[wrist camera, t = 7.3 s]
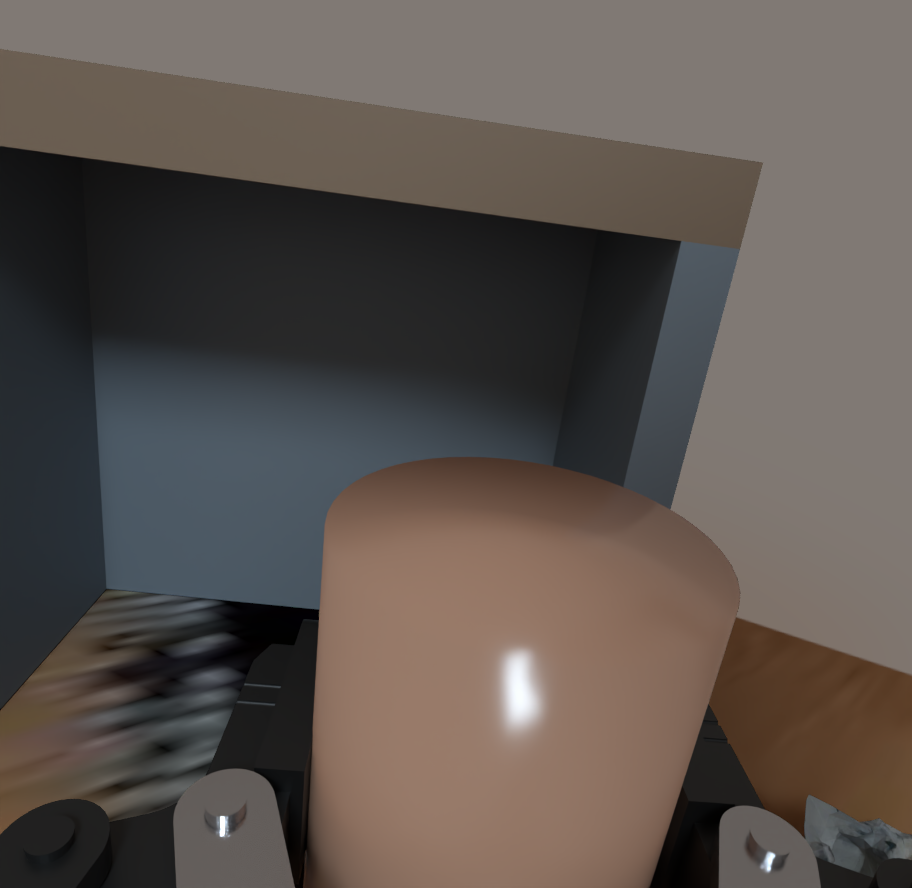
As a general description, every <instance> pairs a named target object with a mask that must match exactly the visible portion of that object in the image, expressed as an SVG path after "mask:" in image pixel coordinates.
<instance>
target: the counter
mask: <svg viewBox="0 0 912 888" xmlns="http://www.w3.org/2000/svg"><path fill="white" fill-rule="evenodd" d="M762 165H763V163H762V162H755V161H748V160H741V159H735V158H727V157H721V156H715V155H708V154H701V153H695V152H687V151H681V150H675V149H667V148H661V147H654V146H648V145H641V144H634V143H628V142H621V141H613V140H607V139H601V138H594V137H587V136H580V135H573V134H566V133H560V132H553V131H547V130H540V129H534V128H527V127H520V126H513V125H507V124H499V123H493V122H486V121H479V120H473V119H466V118H460V117H453V116H445V115H440V114H432V113H426V112H419V111H413V110H406V109H399V108H392V107H385V106H379V105H372V104H365V103H359V102H352V101H345V100H339V99H331V98H325V97H319V96H312V95H305V94H298V93H292V92H285V91H278V90H271V89H264V88H258V87H251V86H245V85H238V84H231V83H225V82H217V81H211V80H204V79H198V78H190V77H184V76H178V75H171V74H164V73H157V72H151V71H144V70H136V69H131V68H124V67H116V66H110V65H104V64H97V63H90V62H83V61H76V60H70V59H63V58H56V57H50V56H43V55H37V54H30V53H22V52H16V51H9V50H3V49H0V709H1V708H2V707H3V706H4V704H5V703H6V702H7V701H8V700H9V699H10V698H11V697H12V695H13V694H14V693H15V692H16V691H17V690H18V689H19V687H20V686H21V685H22V684H23V683H24V682H25V681H26V679H27V678H28V677H29V676H30V675H31V674H32V673H33V672H34V670H35V669H36V668H37V667H38V666H39V665H40V664H41V662H42V661H43V660H44V659H45V658H46V657H47V656H48V655H49V653H50V652H51V651H52V650H53V649H54V648H55V647H56V645H57V644H58V643H59V642H60V641H61V640H62V639H63V637H64V636H65V635H66V634H67V633H68V632H69V631H70V630H71V628H72V627H73V626H74V625H75V624H76V623H77V622H78V620H79V619H80V618H81V617H82V616H83V615H84V614H85V613H86V611H87V610H88V609H89V608H90V607H91V606H92V605H93V603H94V602H95V601H96V600H97V599H98V598H99V597H100V596H101V594H102V593H103V592H104V591H105V590H106V589H115V590H126V591H136V592H146V593H156V594H166V595H177V596H187V597H197V598H207V599H217V600H228V601H238V602H248V603H258V604H269V605H279V606H289V607H299V608H309V609H320V594H321V578H322V561H323V544H324V527H325V521H326V516H327V512H328V510H329V508H330V507H331V505H332V503H333V501H334V500H335V499H336V498H337V496H338V495H339V494H340V493H341V492H342V491H343V490H344V489H346V488H347V487H348V486H350V485H351V484H352V483H353V482H355V481H357V480H359V479H361V478H362V477H364V476H366V475H368V474H371V473H373V472H376V471H378V470H381V469H384V468H387V467H390V466H394V465H397V464H402V463H407V462H412V461H418V460H425V459H432V458H446V457H489V458H501V459H512V460H519V461H527V462H533V463H539V464H544V465H550V466H554V467H559V468H563V469H568V470H572V471H575V472H579V473H583V474H586V475H590V476H593V477H596V478H599V479H602V480H605V481H608V482H611V483H614V484H616V485H619V486H622V487H624V488H627V489H629V490H632V491H634V492H636V493H638V494H641V495H643V496H645V497H647V498H649V499H651V500H653V501H655V502H657V503H659V504H661V505H663V506H665V507H667V508H668V509H671V505H672V501H673V497H674V494H675V490H676V487H677V483H678V479H679V475H680V471H681V467H682V464H683V460H684V457H685V453H686V449H687V445H688V442H689V438H690V434H691V430H692V426H693V423H694V419H695V415H696V412H697V408H698V404H699V400H700V397H701V393H702V389H703V385H704V382H705V378H706V374H707V370H708V367H709V362H710V359H711V355H712V352H713V348H714V344H715V340H716V337H717V333H718V329H719V325H720V322H721V318H722V314H723V310H724V307H725V303H726V299H727V296H728V292H729V288H730V284H731V281H732V277H733V273H734V269H735V266H736V262H737V258H738V254H739V250H740V247H741V243H742V239H743V235H744V232H745V228H746V224H747V220H748V217H749V213H750V209H751V206H752V202H753V198H754V195H755V191H756V187H757V183H758V179H759V175H760V172H761V168H762Z"/></svg>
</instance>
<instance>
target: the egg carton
mask: <svg viewBox="0 0 912 888" xmlns="http://www.w3.org/2000/svg"><path fill="white" fill-rule="evenodd" d="M804 830H805V840H806V841H807V843H808V844H809V846H810V847H811V849H812V851H813V853H814V855H815V856H816V857H818V858H820V859H823V860H825V861H828V862H830V863H833V864H836V865H839V866H842V867H844V868H847V869H850V870H853V871H856V872H859V873H861V874H864V875H867V876H870V877H874V875H875V873H876V871H877V869H878V867H879V865H880V864H881V863H882V862H883V861H885V860H887V859H891V858H903V859H909V860H912V835H910V834H905V833H902V832H900V831H898V830H896V829H895V828H893V827H891V826H889V825H887V824H886V823H884V822H883V821H882V820H881V819H879V818H878V819H875V820H872V821H865V822H858V821H856V820H855V819H853V818H851V817H850V816H848V815H846V814H844V813H843V812H841V811H839V810H838V809H836V808H834V807H833V806H831V805H829V804H827V803H825V802H823V801H821V800H819V799H817V798H815V797H813V796H811V795H809V796H808V798H807V800H806V812H805V824H804Z"/></svg>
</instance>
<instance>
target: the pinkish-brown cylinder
mask: <svg viewBox="0 0 912 888" xmlns="http://www.w3.org/2000/svg"><path fill="white" fill-rule="evenodd" d="M739 602H740V589H739V584H738V579H737V577H736V575H735V572H734V570H733V568H732V565H731V564H730V562H729V561H728V560H727V558H726V557H725V555H724V554H723V553H722V551H721V550H720V549H719V548H718V547H717V546H716V545H715V544H714V543H713V542H712V540H711V539H710V538H708V537H707V536H706V535H705V534H704V533H703V532H701V531H700V530H699V529H698V528H697V527H695V526H694V525H693V524H691V523H690V522H688V521H687V520H686V519H684V518H683V517H681V516H680V515H678V514H676V513H675V512H673V511H671V510H670V509H668V508H667V507H665V506H663V505H661V504H659V503H657V502H655V501H653V500H651V499H649V498H647V497H645V496H643V495H641V494H638V493H636V492H634V491H632V490H629V489H627V488H624V487H622V486H619V485H616V484H614V483H611V482H608V481H605V480H602V479H599V478H596V477H593V476H590V475H586V474H583V473H579V472H575V471H572V470H568V469H563V468H559V467H554V466H550V465H544V464H539V463H533V462H527V461H519V460H512V459H501V458H489V457H446V458H432V459H425V460H418V461H412V462H407V463H402V464H397V465H394V466H390V467H387V468H384V469H381V470H378V471H376V472H373V473H371V474H368V475H366V476H364V477H362V478H361V479H359V480H357V481H355V482H353V483H352V484H351V485H350V486H348V487H347V488H346V489H344V490H343V491H342V492H341V493H340V494H339V495H338V496H337V498H336V499H335V500H334V501H333V503H332V505H331V507H330V508H329V510H328V512H327V516H326V521H325V527H324V544H323V561H322V578H321V594H320V611H319V628H318V645H317V662H316V679H315V696H314V713H313V741H312V758H311V775H310V792H309V809H308V826H307V843H306V852H305V865H304V882H303V888H650V885H651V882H652V879H653V876H654V872H655V869H656V866H657V863H658V860H659V857H660V854H661V850H662V847H663V844H664V841H665V838H666V835H667V832H668V828H669V825H670V822H671V819H672V816H673V813H674V810H675V806H676V803H677V800H678V797H679V794H680V791H681V788H682V784H683V781H684V778H685V775H686V772H687V769H688V766H689V762H690V759H691V756H692V753H693V750H694V747H695V744H696V740H697V737H698V734H699V731H700V728H701V725H702V722H703V718H704V715H705V712H706V709H707V706H708V703H709V700H710V696H711V693H712V690H713V687H714V684H715V681H716V678H717V675H718V671H719V668H720V665H721V662H722V659H723V656H724V653H725V649H726V646H727V643H728V640H729V637H730V634H731V631H732V627H733V624H734V621H735V618H736V615H737V612H738V609H739Z"/></svg>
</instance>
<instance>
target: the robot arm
mask: <svg viewBox="0 0 912 888" xmlns="http://www.w3.org/2000/svg"><path fill="white" fill-rule="evenodd" d="M318 628H319V620H308V619H304V620H303V622H302V624H301V627H300V630H299V634H298V637H297V640H296V643H295V646H292V645H280V644H271V645H270V646H269V647H268V648H267V649H266V650H265V651H264V652H263V653H261V654H260V655H259V656H258V657H257V658H256V659H255V660H254V661H253V663H252V665H251V668H250V670H249V673H248V675H247V678H246V680H245V684H244V686H243V687H242V690H241V692H240V695H239V697H238V700H237V704H235V707H234V709H233V712H232V714H231V717H230V719H229V722H228V724H227V726H226V729H225V731H224V734H223V736H222V739H221V741H220V743H219V746H218V748H217V751H216V753H215V756H214V758H213V761H212V763H211V765H210V768H209V770H208V772H207V774H206V776H204V777H203V778H201V779H199V780H198V781H196V782H195V783H194V784H193V785H191V786H190V787H189V788H188V789H187V790H186V791H185V792H184V794H183V795H182V796H181V798H180V799H179V801H178V802H177V803H176V804H174V805H172V806H170V807H168V808H165V809H163V810H160V811H157V812H153V813H150V814H145V815H141V816H136V817H131V818H127V819H122V820H117V821H113V822H109V819H108V816H107V815H106V813H105V811H104V810H103V809H102V808H101V807H100V806H98V805H97V804H95V803H93V802H90V801H87V800H81V799H66V800H59V801H55V802H51V803H48V804H45V805H42V806H40V807H38V808H35V809H33V810H31V811H29V812H28V813H26V814H25V815H23V816H21V817H20V818H18V819H17V820H16V821H15V822H13V823H12V824H11V825H10V826H9V827H8V828H7V829H5V830H4V831H3V832H2V833H1V835H0V888H295V886H294V884H299V881H300V876H301V871H302V866H303V861H304V857H305V852H306V843H307V826H308V809H309V792H310V775H311V758H312V741H313V713H314V696H315V679H316V662H317V645H318ZM650 888H912V860H909V859H903V858H891V859H887V860H885V861H883V862H882V863H881V864H880V865H879V867H878V869H877V871H876V873H875V875H874V877H870V876H867V875H864V874H861V873H859V872H856V871H853V870H850V869H847V868H844V867H842V866H839V865H836V864H833V863H830V862H828V861H825V860H823V859H820V858H818V857H816V856H815V855H814V853H813V851H812V849H811V847H810V846H809V844H808V843H807V841H806V840H805V839H804V837H803V836H802V835H801V834H800V833H799V832H798V831H797V830H796V829H795V828H794V827H793V826H791V825H790V824H789V823H788V822H786V821H785V820H783V819H782V818H780V817H779V816H777V815H775V814H773V813H771V812H769V811H767V810H765V809H764V807H763V805H762V803H761V801H760V799H759V798H758V796H757V794H756V792H755V790H754V788H753V786H752V784H751V783H750V781H749V779H748V777H747V775H746V773H745V771H744V769H743V768H742V766H741V764H740V762H739V760H738V758H737V756H736V754H735V753H734V751H733V749H732V747H731V745H730V744H728V743H727V738H726V736H725V734H724V732H723V730H722V728H721V726H719V725H718V721H717V719H716V717H715V715H714V713H713V711H712V709H711V708H710V706H709V704H708V706H707V709H706V712H705V715H704V718H703V722H702V725H701V728H700V731H699V734H698V737H697V740H696V744H695V747H694V750H693V753H692V756H691V759H690V762H689V766H688V769H687V772H686V775H685V778H684V781H683V784H682V788H681V791H680V794H679V797H678V800H677V803H676V806H675V810H674V813H673V816H672V819H671V822H670V825H669V828H668V832H667V835H666V838H665V841H664V844H663V847H662V850H661V854H660V857H659V860H658V863H657V866H656V869H655V872H654V876H653V879H652V882H651V885H650Z"/></svg>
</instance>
